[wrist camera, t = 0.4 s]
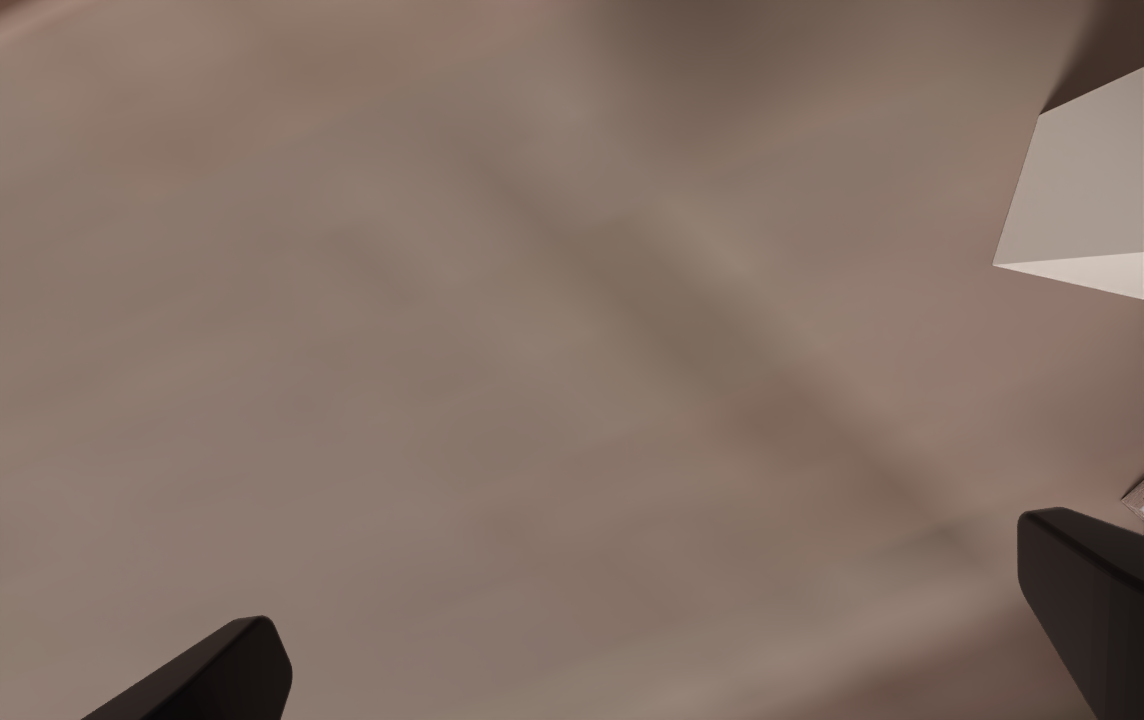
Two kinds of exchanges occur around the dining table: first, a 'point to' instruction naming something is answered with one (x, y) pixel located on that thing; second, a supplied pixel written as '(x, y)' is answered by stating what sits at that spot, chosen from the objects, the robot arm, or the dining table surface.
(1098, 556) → the robot arm
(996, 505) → the dining table surface
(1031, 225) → the plug
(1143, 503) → the grey square frame
